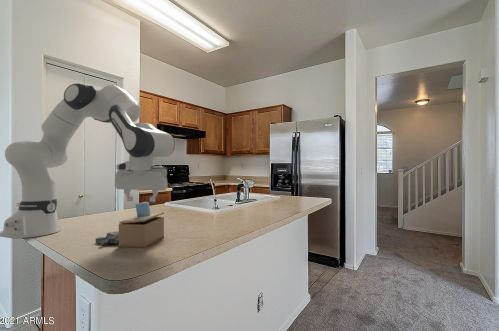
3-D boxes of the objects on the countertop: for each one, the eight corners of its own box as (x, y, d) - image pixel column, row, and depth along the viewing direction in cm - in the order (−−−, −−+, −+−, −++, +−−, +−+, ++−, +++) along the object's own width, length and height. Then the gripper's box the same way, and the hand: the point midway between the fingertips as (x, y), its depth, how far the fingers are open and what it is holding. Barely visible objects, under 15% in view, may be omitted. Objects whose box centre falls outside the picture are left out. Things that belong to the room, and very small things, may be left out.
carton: (118, 246, 89) (118, 224, 89) (141, 235, 103) (141, 216, 103) (144, 247, 88) (144, 224, 88) (163, 236, 102) (163, 216, 102)
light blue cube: (134, 218, 94) (132, 204, 95) (141, 215, 99) (140, 202, 99) (146, 216, 94) (144, 202, 94) (153, 214, 99) (151, 201, 99)
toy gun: (133, 224, 116) (160, 224, 111) (134, 231, 116) (160, 232, 111) (80, 238, 93) (111, 238, 88) (81, 247, 93) (111, 248, 87)
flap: (119, 223, 89) (119, 221, 89) (142, 215, 103) (142, 213, 103) (144, 221, 88) (144, 219, 88) (164, 213, 102) (163, 211, 102)
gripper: (170, 166, 98) (170, 201, 98) (123, 165, 101) (122, 199, 101) (162, 166, 92) (162, 203, 92) (112, 165, 95) (111, 201, 95)
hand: (141, 201), depth 97 cm, fingers open, 8 cm apart
